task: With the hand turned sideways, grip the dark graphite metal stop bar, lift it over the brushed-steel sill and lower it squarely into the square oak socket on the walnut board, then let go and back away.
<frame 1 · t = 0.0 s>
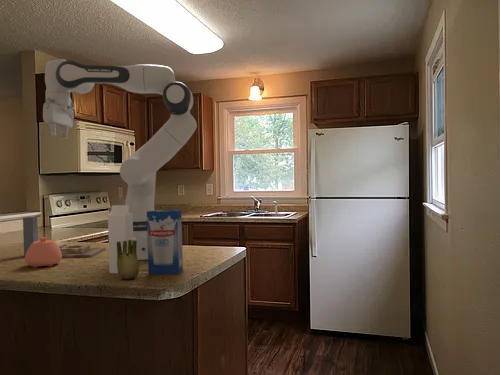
hand: (59, 136, 168), 48 cm above the counter, tool pointing down, fingers open, 8 cm apart
fennel bulb: (128, 279, 130), on the counter
milk carton: (166, 272, 139), on the counter
stop bar: (31, 255, 178), on the counter
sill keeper: (74, 254, 179), on the counter
milk: (122, 272, 141), on the counter
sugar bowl: (44, 265, 156), on the counter
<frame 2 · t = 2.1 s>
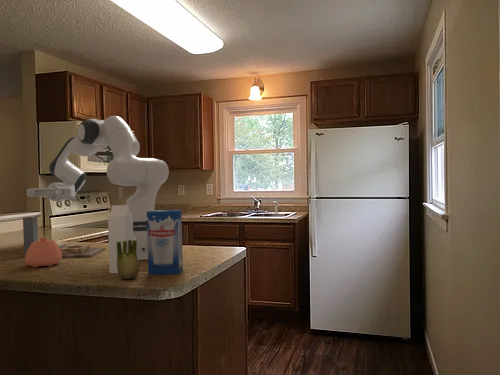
hand: (43, 192, 191), 26 cm above the counter, tool horizontal, fingers open, 8 cm apart
nothing on the counter moved.
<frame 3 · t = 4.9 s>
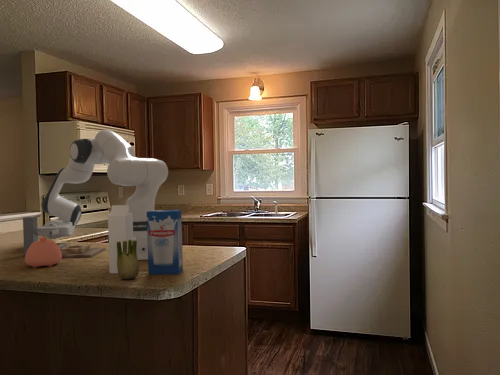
hand: (40, 233, 186), 8 cm above the counter, tool horizontal, fingers open, 8 cm apart
nothing on the counter moved.
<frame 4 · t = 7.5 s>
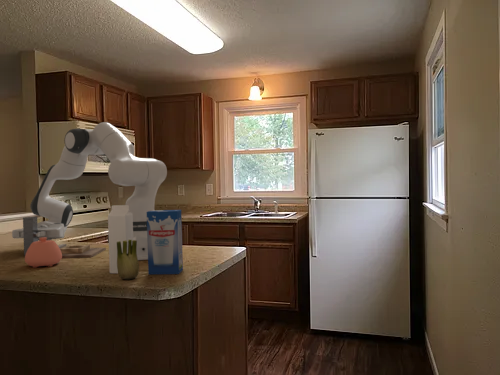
hand: (29, 235, 177), 9 cm above the counter, tool horizontal, fingers closed on stop bar, 4 cm apart
stop bar: (31, 255, 178), on the counter, touching gripper
everything else where it was.
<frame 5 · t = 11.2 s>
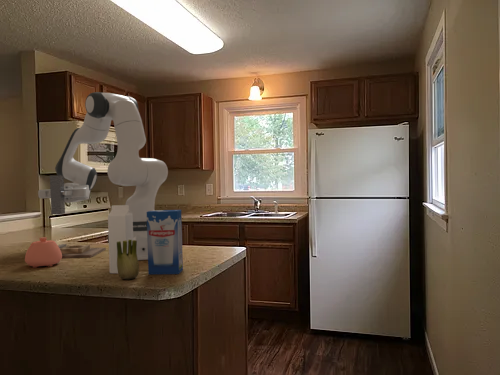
hand: (56, 193, 177), 25 cm above the counter, tool horizontal, fingers closed on stop bar, 4 cm apart
stop bar: (58, 214, 178), point 17 cm above the counter, touching gripper
everything else where it was.
when the fingers open (10 cm above the counter, at t = 14.8 s): stop bar stays where it is, resting on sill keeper.
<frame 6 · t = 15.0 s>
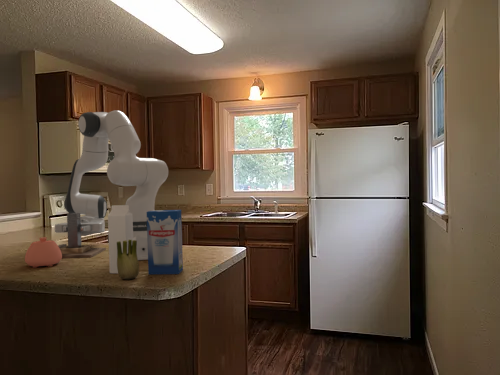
hand: (73, 229, 177), 10 cm above the counter, tool horizontal, fingers open, 6 cm apart
stop bar: (75, 251, 179), point 1 cm above the counter, touching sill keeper
everything else where it was.
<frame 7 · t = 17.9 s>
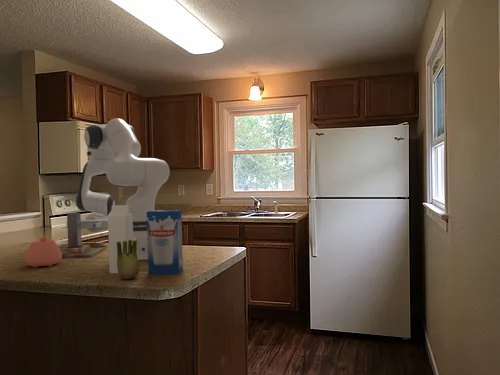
hand: (84, 225, 190), 11 cm above the counter, tool horizontal, fingers open, 8 cm apart
nothing on the counter moved.
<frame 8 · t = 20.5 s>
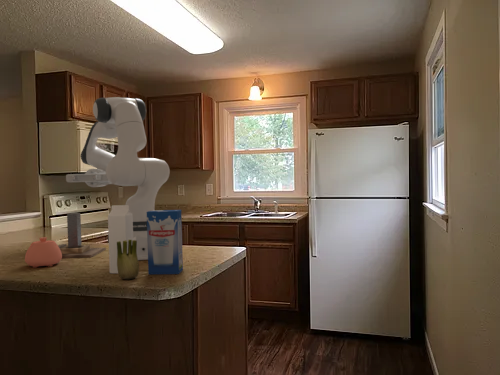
hand: (83, 177, 191), 32 cm above the counter, tool horizontal, fingers open, 8 cm apart
nothing on the counter moved.
at the end: stop bar 0.1 cm off-centre on the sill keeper, point 1.0 cm above the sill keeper's base; stop bar tilted 0°; the gripper is holding nothing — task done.
